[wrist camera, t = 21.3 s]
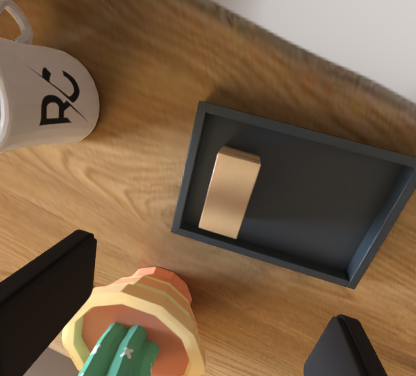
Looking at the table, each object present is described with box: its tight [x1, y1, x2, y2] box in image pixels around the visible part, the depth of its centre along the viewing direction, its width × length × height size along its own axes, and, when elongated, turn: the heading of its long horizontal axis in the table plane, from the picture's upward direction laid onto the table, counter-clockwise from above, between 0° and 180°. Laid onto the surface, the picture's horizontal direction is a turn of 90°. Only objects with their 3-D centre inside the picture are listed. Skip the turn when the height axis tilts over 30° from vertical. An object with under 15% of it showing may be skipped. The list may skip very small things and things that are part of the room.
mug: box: [0, 0, 100, 153], centre depth 19 cm, size 12×9×10 cm
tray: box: [171, 101, 416, 289], centre depth 23 cm, size 20×14×2 cm
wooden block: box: [199, 145, 261, 239], centre depth 22 cm, size 7×4×4 cm, turn 166°
